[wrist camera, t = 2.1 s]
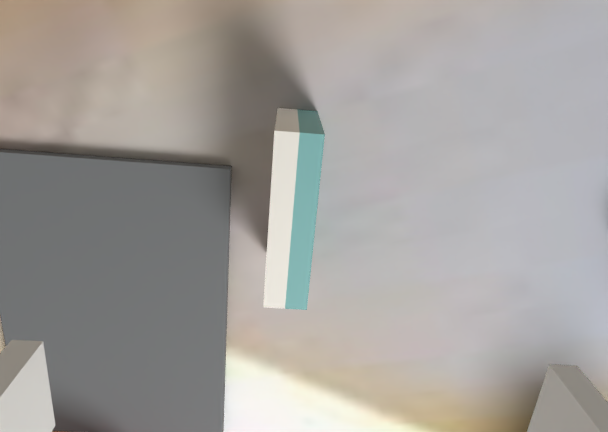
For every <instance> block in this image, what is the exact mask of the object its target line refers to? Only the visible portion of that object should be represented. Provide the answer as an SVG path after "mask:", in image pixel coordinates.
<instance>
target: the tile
mask: <svg viewBox="0 0 608 432" xmlns="http://www.w3.org/2000/svg"><path fill="white" fill-rule="evenodd" d="M324 137H325V134H324V131H323V128H322V124H321V121H320V118H319V115H318V112H317V111H310V110H298V109H285V108H277V115H276V123H275V130H274V146H273V162H272V177H271V193H270V209H269V225H268V240H267V256H266V272H265V288H264V303H263V307H267V308H284V309H302V310H307V302H308V292H309V282H310V272H311V263H312V253H313V243H314V234H315V224H316V214H317V205H318V195H319V185H320V175H321V166H322V156H323V146H324Z"/></svg>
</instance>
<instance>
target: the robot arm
mask: <svg viewBox="0 0 608 432" xmlns="http://www.w3.org/2000/svg"><path fill="white" fill-rule="evenodd" d="M54 427H55V419H54V412H53V405H52V398H51V392H50V385H49V378H48V371H47V364H46V358H45V351H44V344H43V341H26V340H11V341H10V342H9V343H8V345H7V346H6V347H5V348H4V349H3V350H2V351H1V353H0V432H52V430H53V429H54ZM527 432H608V402H607V401H606V400H605V399H604V397H603V396H602V395H601V394H600V393H599V391H598V390H597V389H596V388H595V387H594V386H593V384H592V383H591V382H590V381H589V380H588V378H587V377H586V376H585V375H584V374H583V372H582V371H581V370H580V369H579V368H578V366H572V365H550V364H549V367H548V370H547V373H546V376H545V379H544V382H543V385H542V388H541V391H540V394H539V397H538V400H537V403H536V406H535V409H534V412H533V415H532V418H531V421H530V424H529V427H528V430H527Z"/></svg>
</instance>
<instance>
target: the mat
mask: <svg viewBox="0 0 608 432" xmlns="http://www.w3.org/2000/svg"><path fill="white" fill-rule="evenodd" d="M231 167H232V166H222V165H209V164H195V163H182V162H168V161H155V160H141V159H128V158H114V157H101V156H87V155H74V154H60V153H47V152H34V151H20V150H7V149H0V316H1V321H2V327H3V333H4V338H5V344H6V346H7V345H8V343H9V342H10V341H11V340H26V341H43V344H44V351H45V358H46V364H47V371H48V378H49V385H50V392H51V398H52V405H53V412H54V419H55V427H54V429H53V430H52V431H67V432H223V426H224V394H225V361H226V329H227V297H228V264H229V232H230V200H231Z"/></svg>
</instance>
